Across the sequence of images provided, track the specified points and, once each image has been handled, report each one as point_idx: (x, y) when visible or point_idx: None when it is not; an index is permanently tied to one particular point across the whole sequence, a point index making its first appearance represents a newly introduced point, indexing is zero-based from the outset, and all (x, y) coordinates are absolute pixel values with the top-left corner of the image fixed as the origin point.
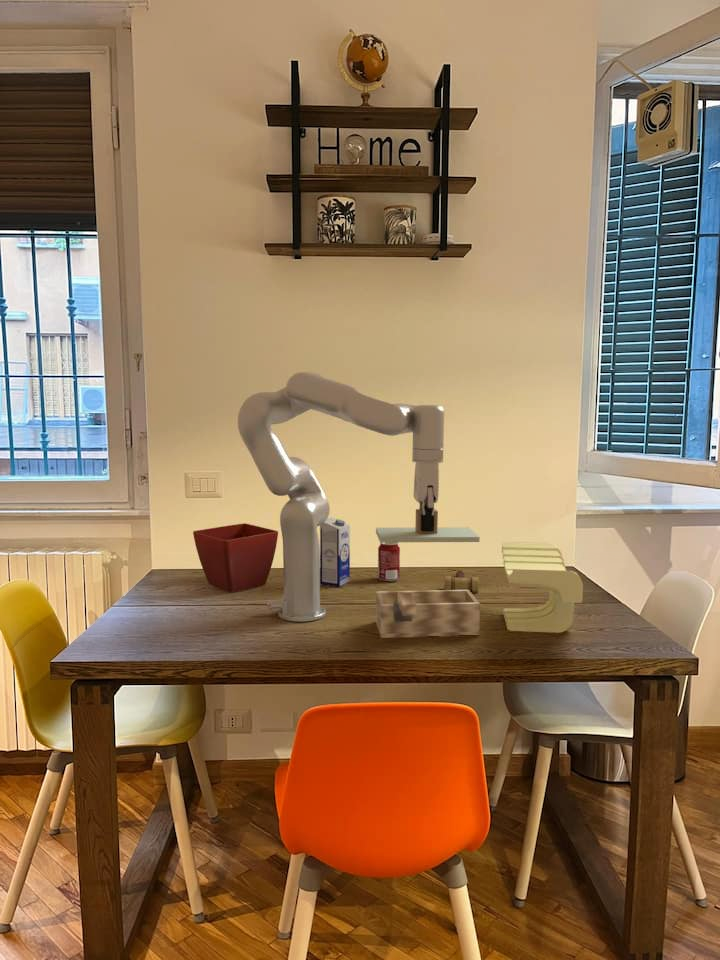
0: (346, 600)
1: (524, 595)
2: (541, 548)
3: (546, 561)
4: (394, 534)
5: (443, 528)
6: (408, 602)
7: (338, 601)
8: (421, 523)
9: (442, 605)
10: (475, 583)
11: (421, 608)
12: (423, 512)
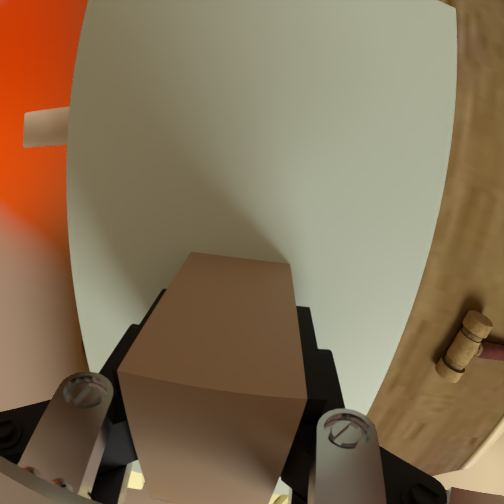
0: (470, 79)
1: (386, 422)
2: None
3: (285, 500)
4: (172, 61)
5: None
6: (36, 128)
7: (465, 60)
8: (144, 320)
9: None
10: (442, 371)
11: None
12: (58, 396)
